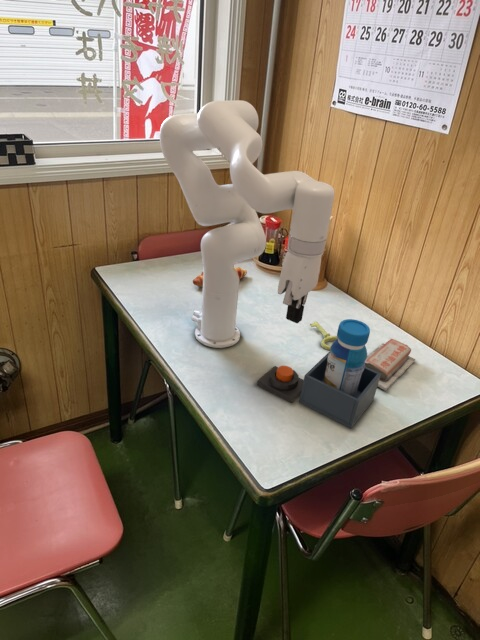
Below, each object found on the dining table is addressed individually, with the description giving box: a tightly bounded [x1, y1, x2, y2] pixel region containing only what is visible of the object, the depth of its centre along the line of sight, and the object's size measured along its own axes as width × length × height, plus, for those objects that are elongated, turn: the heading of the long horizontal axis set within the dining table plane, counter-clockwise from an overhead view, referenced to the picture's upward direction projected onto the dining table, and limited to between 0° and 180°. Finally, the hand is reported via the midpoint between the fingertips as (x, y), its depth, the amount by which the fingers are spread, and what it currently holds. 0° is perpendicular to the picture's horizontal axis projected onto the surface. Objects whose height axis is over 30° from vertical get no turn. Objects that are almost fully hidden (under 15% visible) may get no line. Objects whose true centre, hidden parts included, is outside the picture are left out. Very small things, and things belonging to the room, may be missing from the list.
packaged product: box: [365, 338, 416, 392], centre depth 126 cm, size 18×5×10 cm
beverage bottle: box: [323, 318, 371, 398], centre depth 109 cm, size 8×8×20 cm
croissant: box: [192, 266, 248, 288], centre depth 160 cm, size 21×10×8 cm, turn 126°
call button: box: [276, 365, 294, 382], centre depth 115 cm, size 4×4×2 cm
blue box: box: [299, 351, 381, 429], centre depth 112 cm, size 13×13×8 cm
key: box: [309, 321, 337, 351], centre depth 136 cm, size 7×12×2 cm, turn 44°
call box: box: [256, 365, 304, 404], centre depth 117 cm, size 10×8×3 cm
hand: (293, 319), depth 107 cm, fingers closed
